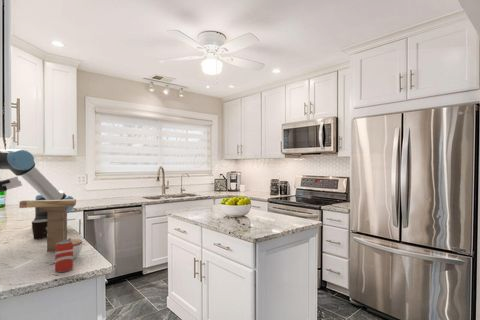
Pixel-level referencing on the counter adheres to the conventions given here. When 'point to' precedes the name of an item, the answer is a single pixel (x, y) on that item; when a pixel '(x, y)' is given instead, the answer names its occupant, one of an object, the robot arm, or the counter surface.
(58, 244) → the beverage can
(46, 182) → the robot arm
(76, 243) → the lidded jar
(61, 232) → the walnut stand
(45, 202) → the tan wooden bar
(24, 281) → the counter surface
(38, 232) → the coffee mug
